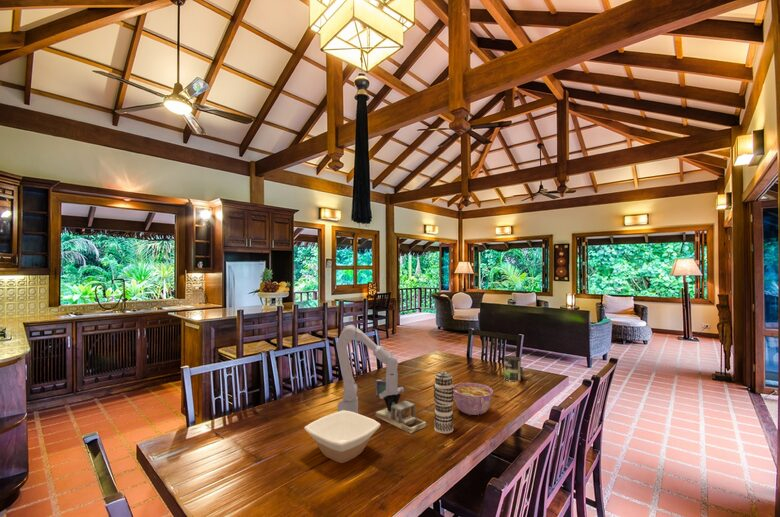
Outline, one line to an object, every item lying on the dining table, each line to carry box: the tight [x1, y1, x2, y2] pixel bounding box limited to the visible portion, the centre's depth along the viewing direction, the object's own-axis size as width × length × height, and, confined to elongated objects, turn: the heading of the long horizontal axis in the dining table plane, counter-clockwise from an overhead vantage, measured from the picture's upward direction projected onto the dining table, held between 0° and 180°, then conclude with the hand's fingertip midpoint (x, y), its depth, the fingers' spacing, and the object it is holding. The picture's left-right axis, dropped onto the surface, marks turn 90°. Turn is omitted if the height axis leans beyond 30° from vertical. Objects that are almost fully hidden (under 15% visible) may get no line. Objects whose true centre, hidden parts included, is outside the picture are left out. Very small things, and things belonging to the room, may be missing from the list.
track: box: [375, 400, 427, 434], centre depth 166 cm, size 10×24×8 cm, turn 42°
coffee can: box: [503, 355, 522, 382], centre depth 229 cm, size 10×10×14 cm
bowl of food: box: [452, 382, 494, 416], centre depth 177 cm, size 20×20×12 cm
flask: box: [375, 376, 386, 398], centre depth 198 cm, size 9×3×11 cm, turn 65°
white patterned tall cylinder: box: [433, 371, 455, 435], centre depth 159 cm, size 9×9×25 cm
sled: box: [385, 401, 416, 423], centre depth 166 cm, size 6×14×5 cm, turn 42°
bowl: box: [304, 410, 381, 464], centre depth 139 cm, size 24×25×11 cm
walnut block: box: [397, 408, 410, 419], centre depth 165 cm, size 4×4×4 cm
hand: (391, 409), depth 171 cm, fingers closed on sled, 2 cm apart
